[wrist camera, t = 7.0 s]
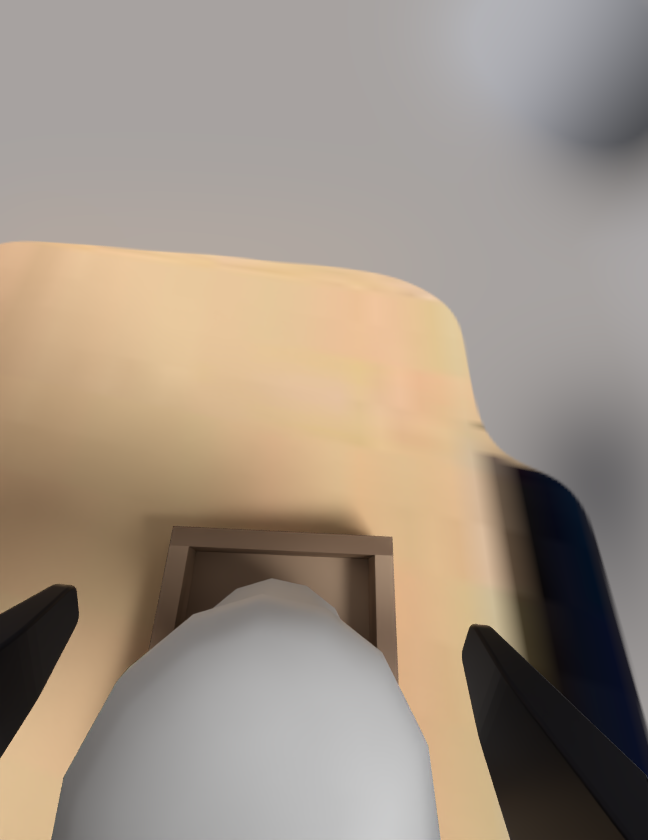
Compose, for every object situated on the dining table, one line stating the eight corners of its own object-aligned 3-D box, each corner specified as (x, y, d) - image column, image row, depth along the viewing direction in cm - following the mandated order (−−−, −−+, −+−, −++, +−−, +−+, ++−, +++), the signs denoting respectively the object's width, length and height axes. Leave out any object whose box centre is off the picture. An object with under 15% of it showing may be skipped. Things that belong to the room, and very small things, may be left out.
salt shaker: (173, 738, 14) (-351, 1385, 2) (220, 571, 17) (78, 487, 5) (332, 771, 14) (579, 1553, 2) (356, 599, 17) (533, 581, 5)
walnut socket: (387, 797, 15) (404, 828, 12) (139, 795, 14) (113, 827, 12) (380, 545, 19) (392, 536, 16) (186, 535, 18) (173, 525, 16)
